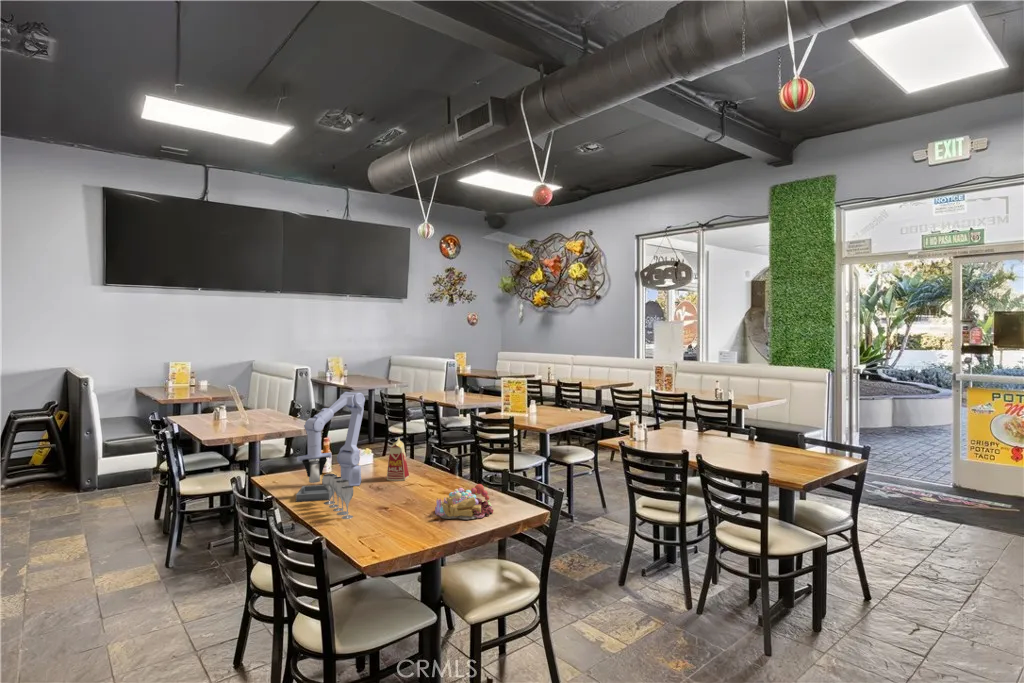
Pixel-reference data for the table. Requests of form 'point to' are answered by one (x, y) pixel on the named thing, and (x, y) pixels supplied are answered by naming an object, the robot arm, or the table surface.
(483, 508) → the candy landscape model
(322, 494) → the tray
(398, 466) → the milk carton
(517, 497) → the table surface
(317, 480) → the cylinder
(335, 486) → the goblet set
